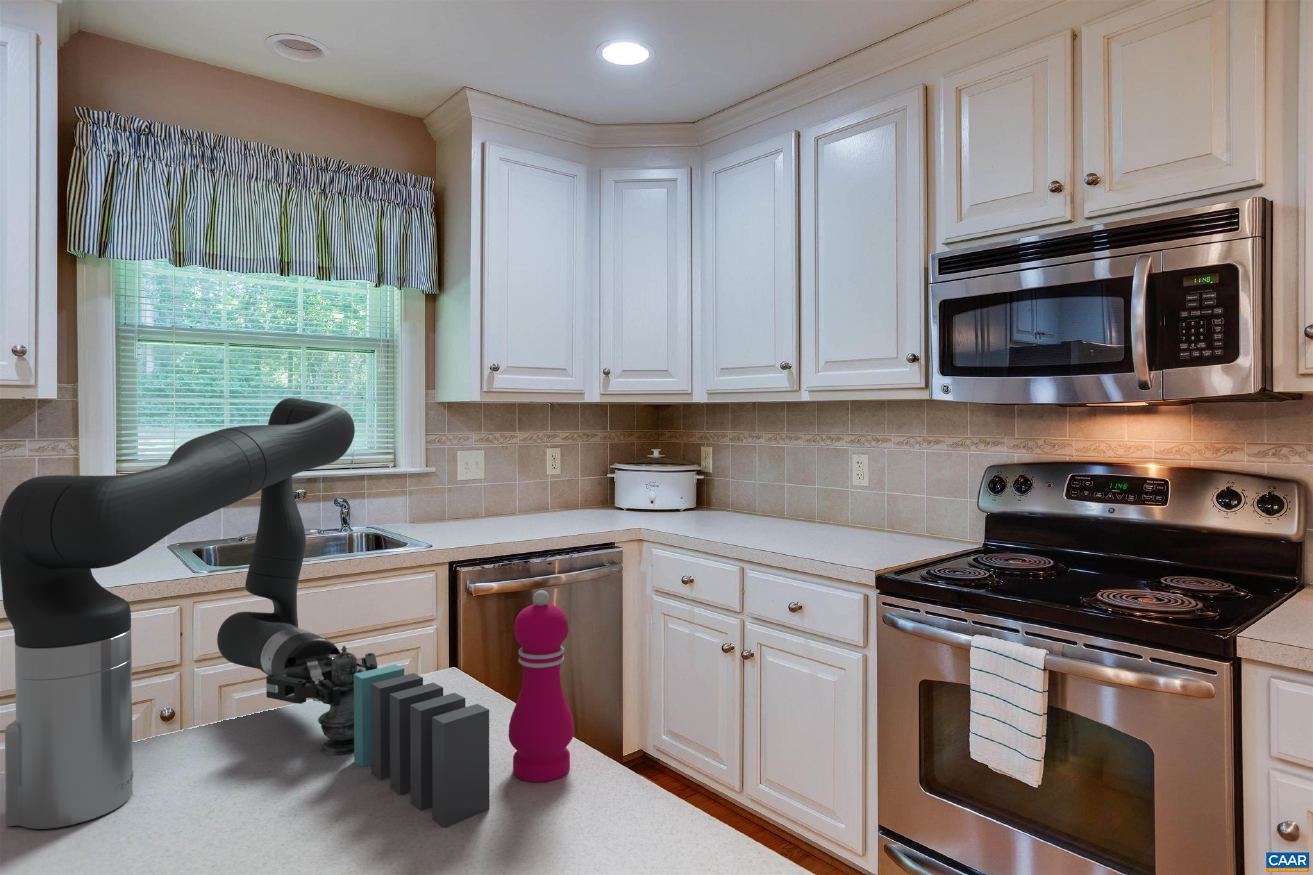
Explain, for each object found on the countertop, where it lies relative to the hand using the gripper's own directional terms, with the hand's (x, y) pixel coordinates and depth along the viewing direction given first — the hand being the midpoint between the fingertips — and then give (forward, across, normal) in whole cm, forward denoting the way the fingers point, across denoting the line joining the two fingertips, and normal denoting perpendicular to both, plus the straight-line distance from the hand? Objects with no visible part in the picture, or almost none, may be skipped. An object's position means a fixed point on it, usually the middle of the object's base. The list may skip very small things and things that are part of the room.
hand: (354, 692), depth 88 cm
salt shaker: (-3, 0, +7) cm, 8 cm away
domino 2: (+8, +2, +7) cm, 11 cm away
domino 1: (+3, +2, +7) cm, 8 cm away
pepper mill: (+19, +13, +7) cm, 24 cm away
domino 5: (+21, +2, +7) cm, 22 cm away
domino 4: (+17, +2, +7) cm, 18 cm away
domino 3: (+12, +2, +7) cm, 14 cm away
